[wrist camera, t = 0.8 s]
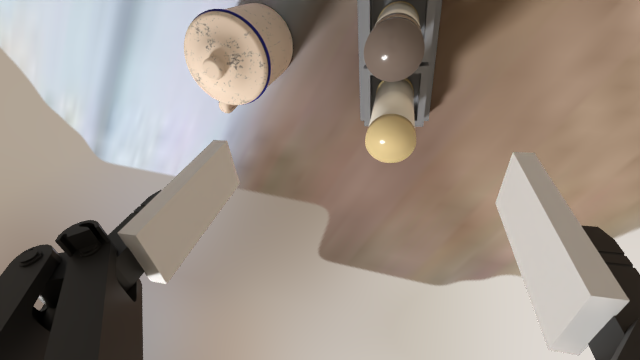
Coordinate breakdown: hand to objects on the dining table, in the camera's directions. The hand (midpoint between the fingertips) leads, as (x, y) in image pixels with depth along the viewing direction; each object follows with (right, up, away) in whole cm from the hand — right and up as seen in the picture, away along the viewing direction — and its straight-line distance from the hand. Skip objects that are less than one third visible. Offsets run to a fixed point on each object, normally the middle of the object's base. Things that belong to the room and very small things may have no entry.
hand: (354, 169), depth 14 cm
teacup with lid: (-10, +15, +23) cm, 29 cm away
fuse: (+7, +10, +20) cm, 23 cm away
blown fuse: (+6, +15, +16) cm, 23 cm away
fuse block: (+7, +14, +19) cm, 25 cm away
